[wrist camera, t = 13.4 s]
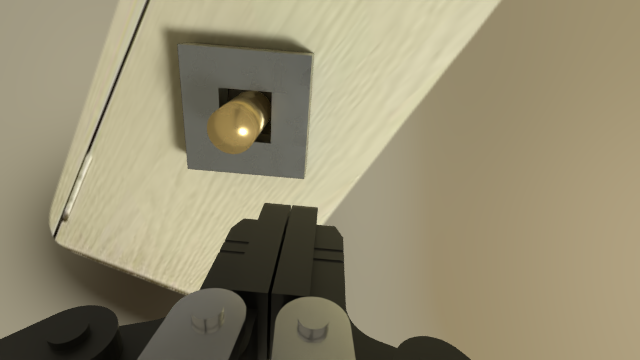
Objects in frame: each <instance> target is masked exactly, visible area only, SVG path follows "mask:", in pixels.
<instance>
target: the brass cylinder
mask: <svg viewBox="0 0 640 360" xmlns="http://www.w3.org/2000/svg"><path fill="white" fill-rule="evenodd" d="M271 113H272V108H271V104H270V102H269V100H268V99H267V97H266V96H265V95H263V94H262V93H260V92H258V91H252V90H247V91H244V92H242V93H240V94H239V95H237V96H236V97H235V98H233V99H232V100H230V101H229V102H228V103H226V104H225V105H223V106H222V107H220V108H219V109H218V110H216V111H215V112H214V113H212V115H211V116H210V118H209V120H208V123H207V133H208V136H209V139H210V140H211V142H212V143H213V145H214V146H215V147H216V148H218V149H219V150H221V151H223V152H225V153H228V154H239V153H242V152H244V151H246V150H247V149H249V148H250V146H251V145H252V144H253V142H254V141H255V140H256V138H257V137H258V135H259V134H260V133H261V131H262V130H263V128H264V127H265V126H266V124H267V123H268V121H269V120H270V118H271Z"/></svg>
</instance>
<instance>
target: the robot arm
mask: <svg viewBox="0 0 640 360" xmlns="http://www.w3.org/2000/svg"><path fill="white" fill-rule="evenodd" d="M317 211H318V208H317V207H306V206H295V205H293V206H292V209H291V205H282V204H271V203H265V204H264V206H263V208H262V211H261V213H260V216H259V218H258V220H254V219H243V220H241V221H240V222H239V223H237V224H236V225H235V226H233V227H232V228H231V230H230V232H229V234H228V235H227V237H226V239H225V242H224V243H223V245H222V247H221V249H220V253H218V255H217V257H216V259H215V261H214V263H213V265H212V267H211V269H210V271H209V273H208V274H207V276H206V278H205V280H204V282H203V284H202V286H201V288H200V290H199V291H196V292H193V293H191V294H189V295H187V296H185V297H184V298H182V299H181V300H179V301H178V302H177V303H176V304H175V305H174V307H173V308H172V309H171V311H170V312H169V313H168V315H167V317H164V318H161V319H158V320H154V321H148V322H142V323H135V324H130V325H123V326H119V324H118V319H117V317H116V315H115V313H114V312H112V311H111V310H110V309H108V308H105V307H102V306H95V305H94V306H92V305H88V306H80V307H75V308H71V309H68V310H65V311H62V312H60V313H57V314H55V315H53V316H50V317H49V318H46V319H44V320H42V321H40V322H37V323H35V324H33V325H31V326H29V327H27V328H24V329H22V330H20V331H18V332H15V333H13V334H11V335H9V336H7V337H4V338H2V339H0V360H269V359H270V360H471V359H469V358H468V357H467V356H466V355H465V354H463V353H462V352H461V351H460V350H458V349H457V348H456V347H454V346H452V345H450V344H449V343H447V342H445V341H443V340H440V339H437V338H433V337H428V336H418V337H413V338H409V339H408V340H405V341H404V342H403V343H401V344H400V345H399V347H398V348H395V347H393V346H390V345H388V344H385V343H382V342H379V341H377V340H375V339H373V338H370V337H369V336H367V335H365V334H364V333H362V332H361V331H360V330H359V329H358V328H357V327H356V326H355V325H354V324H353V323H352V321H351V320H350V318H349V316H348V314H347V311H346V302H345V277H344V253H343V237H342V236H341V234H340V233H339V232H338V230H337V229H336V227H334V226H323V225H316V223H317Z"/></svg>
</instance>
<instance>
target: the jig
mask: <svg viewBox="0 0 640 360" xmlns="http://www.w3.org/2000/svg"><path fill="white" fill-rule="evenodd" d="M177 45H178V57H179V69H180V81H181V93H182V105H183V117H184V129H185V141H186V153H187V165H188V169H195V170H207V171H218V172H229V173H241V174H252V175H264V176H275V177H286V178H298V179H304V177H305V172H306V165H307V150H308V135H309V120H310V105H311V90H312V75H313V61H314V53H305V52H294V51H282V50H271V49H259V48H248V47H236V46H224V45H213V44H201V43H182V44H177ZM228 88H229V89H240V90H252V91H263V92H272V113H271V134H259V135H258V137H257V138H256V140H255V141H254V142H253V144H252V145H251V146H250V148H249V149H247V150H246V151H244V152H242V153H239V154H228V153H225V152H223V151H221V150H219V149H218V148H216V147H215V146H214V145H213V143H212V142H211V140H210V139H209V136H208V133H207V123H208V120H209V118H210V116H211V115H212V113H214V112H215V111H216V110H218V109H219V108H220V107H222V106H223V105H225V104H226V103H228Z"/></svg>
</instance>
